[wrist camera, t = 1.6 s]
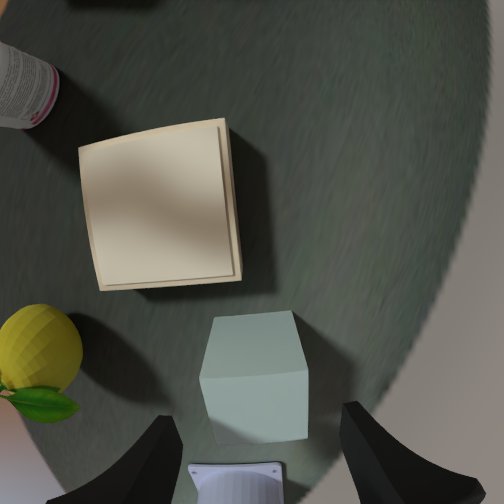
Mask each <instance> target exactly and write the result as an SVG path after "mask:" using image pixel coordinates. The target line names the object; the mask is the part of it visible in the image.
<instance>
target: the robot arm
mask: <svg viewBox="0 0 504 504" xmlns="http://www.w3.org/2000/svg"><path fill="white" fill-rule="evenodd" d="M339 435H340V439H341V444H342V448H343V453H344V456H345V459H346V461H347V464H348V467H349V470H350V473H351V475H352V478H353V481H354V483H355V486H356V489H357V492H358V495H359V499H360V503H361V504H480V503H481V502H482V501H483V499H484V498H485V495H486V492H485V491H484V489H483V487H482V485H481V484H480V483H479V481H478V480H477V479H476V478H473V477H469V476H465V475H461V474H458V473H455V472H452V471H449V470H447V469H444V468H442V467H440V466H438V465H436V464H433V463H431V462H429V461H427V460H426V459H424V458H422V457H420V456H419V455H417V454H416V453H414V452H413V451H411V450H409V449H408V448H407V447H405V446H404V445H402V444H401V443H400V442H399V441H398V440H396V439H395V438H394V437H393V436H392V435H390V434H389V433H388V432H387V431H386V430H385V429H384V428H383V427H382V426H380V424H379V423H377V422H376V421H375V419H374V418H373V417H372V416H371V415H370V414H369V413H368V412H367V411H366V410H365V409H364V408H363V406H362V405H361V404H360V403H359V402H358V401H354V402H349V403H344V404H343V409H342V417H341V425H340V433H339ZM182 450H183V444H182V441H181V438H180V436H179V433H178V431H177V428H176V426H175V423H174V420H173V417H172V416H162V415H159V416H158V417H157V418H156V419H155V420H154V421H153V423H152V424H151V425H150V426H149V427H148V429H147V430H146V431H145V432H144V433H143V435H142V436H141V437H140V438H139V439H138V440H137V441H136V443H135V444H134V445H133V446H132V447H131V448H130V449H129V450H128V451H127V452H126V453H125V454H124V455H123V456H122V457H121V458H120V459H119V460H118V461H117V462H116V463H115V464H113V465H112V466H111V467H110V468H109V469H107V470H106V471H105V472H103V473H102V474H101V475H99V476H98V477H96V478H95V479H93V480H92V481H90V482H88V483H87V484H85V485H83V486H81V487H80V488H78V489H76V490H74V491H71V492H69V493H67V494H65V495H62V496H59V497H56V498H54V499H51V500H48V501H47V502H46V504H171V501H172V497H173V493H174V490H175V486H176V482H177V478H178V474H179V470H180V466H181V460H182ZM188 471H189V473H190V475H191V477H192V479H193V481H194V483H195V485H196V487H197V489H198V492H199V495H198V502H197V504H284V498H283V481H282V466H281V464H280V463H278V462H272V463H258V464H234V465H206V464H190V465H189V466H188Z"/></svg>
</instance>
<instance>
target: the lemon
mask: <svg viewBox="0 0 504 504" xmlns="http://www.w3.org/2000/svg"><path fill="white" fill-rule="evenodd" d="M82 358H83V348H82V341H81V338H80V335H79V333H78V330H77V329H76V327H75V325H74V324H73V322H72V321H71V320H70V319H69V318H68V317H67V316H66V315H65V314H64V313H63V312H61V311H60V310H58V309H57V308H54V307H52V306H49V305H46V304H37V305H30V306H26V307H24V308H22V309H21V310H19V311H18V312H16V313H15V314H14V315H13V316H11V317H10V318H9V319H8V320H7V321H6V322H5V323H4V325H3V326H2V328H1V330H0V385H1V386H0V392H1V391H2V390H6V391H8V392H9V393H11V394H12V395H11V396H3V395H0V397H2V398H5V399H7V400H8V401H10V402H11V403H12V404H13V406H14V407H15V408H16V409H17V410H18V411H20V412H21V413H22V414H23V415H24V416H26V417H27V418H29V419H31V420H33V421H36V422H41V423H55V422H58V421H62V420H65V419H67V418H69V417H70V416H71V415H73V414H74V413H75V412H76V411H77V410H78V409H80V406H79V405H77V404H76V403H75V402H74V401H73V400H71V399H70V398H68V397H66V396H65V395H63V394H60V393H62V392H63V391H64V390H65V389H66V388H67V386H68V385H69V384H70V383H71V382H72V380H73V379H74V378H75V377H76V375H77V373H78V370H79V367H80V364H81V361H82Z"/></svg>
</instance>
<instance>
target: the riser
mask: <svg viewBox="0 0 504 504" xmlns="http://www.w3.org/2000/svg"><path fill="white" fill-rule="evenodd" d="M78 149H79V163H80V175H81V184H82V193H83V201H84V209H85V216H86V222H87V228H88V234H89V240H90V246H91V251H92V256H93V261H94V266H95V270H96V275H97V279H98V283H99V288H100V291H106V290H123V289H138V288H153V287H167V286H181V285H193V284H206V283H218V282H230V281H241V280H242V270H243V262H242V252H241V243H240V234H239V224H238V215H237V205H236V196H235V186H234V176H233V166H232V156H231V146H230V136H229V127H228V125H227V122H226V120H225V118H220V119H213V120H205V121H198V122H192V123H185V124H179V125H174V126H168V127H163V128H157V129H152V130H147V131H143V132H138V133H133V134H129V135H125V136H120V137H116V138H112V139H108V140H104V141H101V142H97V143H93V144H89V145H86V146H82V147H79V148H78Z"/></svg>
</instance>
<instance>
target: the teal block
mask: <svg viewBox="0 0 504 504" xmlns="http://www.w3.org/2000/svg"><path fill="white" fill-rule="evenodd" d="M199 380H200V384H201V388H202V392H203V396H204V400H205V404H206V408H207V412H208V415H209V419H210V423H211V426H212V430H213V434H214V437H215V441H216V444H217V445H237V444H257V443H271V442H281V441H291V440H299V439H307V438H308V367H307V363H306V360H305V356H304V353H303V349H302V346H301V342H300V339H299V335H298V332H297V328H296V325H295V321H294V318H293V314H292V311H282V312H272V313H261V314H250V315H238V316H225V317H214V321H213V325H212V329H211V333H210V337H209V341H208V345H207V349H206V353H205V357H204V361H203V365H202V369H201V373H200V377H199Z"/></svg>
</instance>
